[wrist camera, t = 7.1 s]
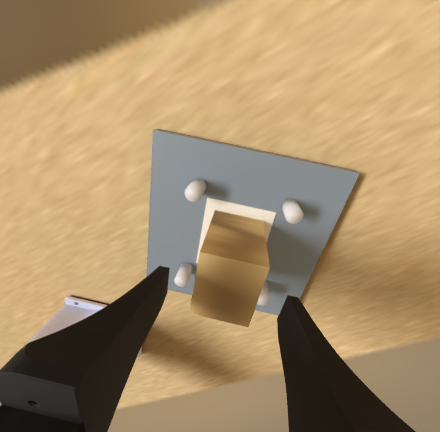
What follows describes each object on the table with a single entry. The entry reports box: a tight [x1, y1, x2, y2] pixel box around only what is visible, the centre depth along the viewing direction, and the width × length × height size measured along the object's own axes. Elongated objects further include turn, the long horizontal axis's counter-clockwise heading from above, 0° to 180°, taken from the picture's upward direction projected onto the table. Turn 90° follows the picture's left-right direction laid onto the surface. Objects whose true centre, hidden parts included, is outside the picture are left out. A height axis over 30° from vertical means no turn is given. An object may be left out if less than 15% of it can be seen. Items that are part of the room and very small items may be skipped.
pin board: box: [147, 129, 360, 315], centre depth 18 cm, size 15×15×3 cm
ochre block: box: [189, 210, 270, 327], centre depth 16 cm, size 4×5×6 cm
